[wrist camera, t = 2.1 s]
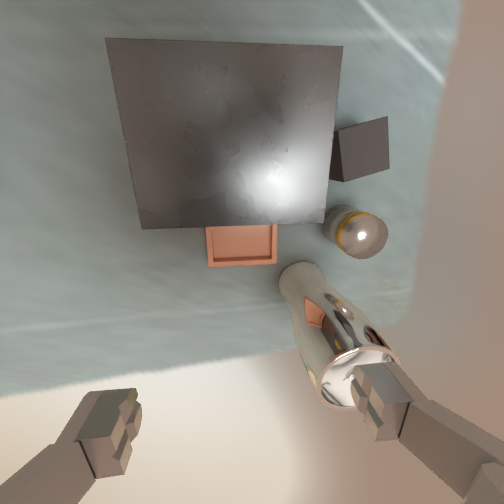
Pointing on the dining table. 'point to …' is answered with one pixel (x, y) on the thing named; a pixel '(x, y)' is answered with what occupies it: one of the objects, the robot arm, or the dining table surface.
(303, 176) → the dark grey block
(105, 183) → the dining table surface
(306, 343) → the beer glass
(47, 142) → the dining table surface
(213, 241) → the tray
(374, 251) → the cylinder
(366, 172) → the rubber block
